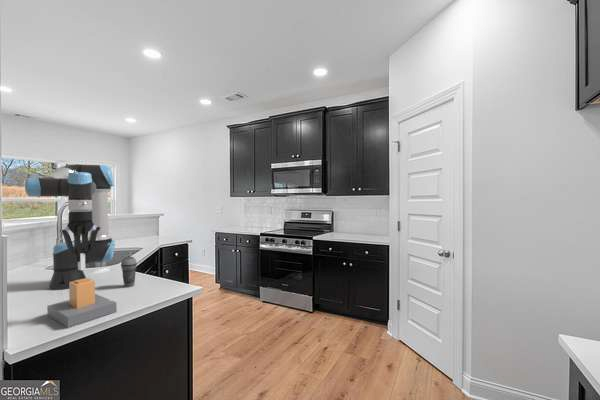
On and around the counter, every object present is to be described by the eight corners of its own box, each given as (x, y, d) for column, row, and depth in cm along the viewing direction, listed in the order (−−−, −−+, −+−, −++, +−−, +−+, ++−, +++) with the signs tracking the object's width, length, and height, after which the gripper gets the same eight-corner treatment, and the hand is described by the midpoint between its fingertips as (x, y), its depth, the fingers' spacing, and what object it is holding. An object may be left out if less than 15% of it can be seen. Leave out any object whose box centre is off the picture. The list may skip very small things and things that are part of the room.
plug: (69, 310, 111) (69, 280, 110) (87, 305, 116) (86, 277, 115) (77, 314, 107) (76, 283, 107) (95, 309, 112) (94, 279, 112)
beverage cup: (125, 283, 149) (125, 247, 149) (139, 283, 150) (139, 246, 149) (118, 288, 142) (117, 249, 141) (132, 287, 142) (132, 249, 142)
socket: (47, 315, 110) (47, 305, 110) (94, 302, 123) (93, 293, 123) (68, 328, 99) (67, 317, 99) (116, 311, 113) (116, 302, 113)
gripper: (63, 211, 103) (65, 274, 103) (103, 210, 114) (104, 267, 114) (56, 211, 107) (57, 272, 107) (95, 209, 118) (96, 264, 118)
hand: (81, 269), depth 111 cm, fingers closed
